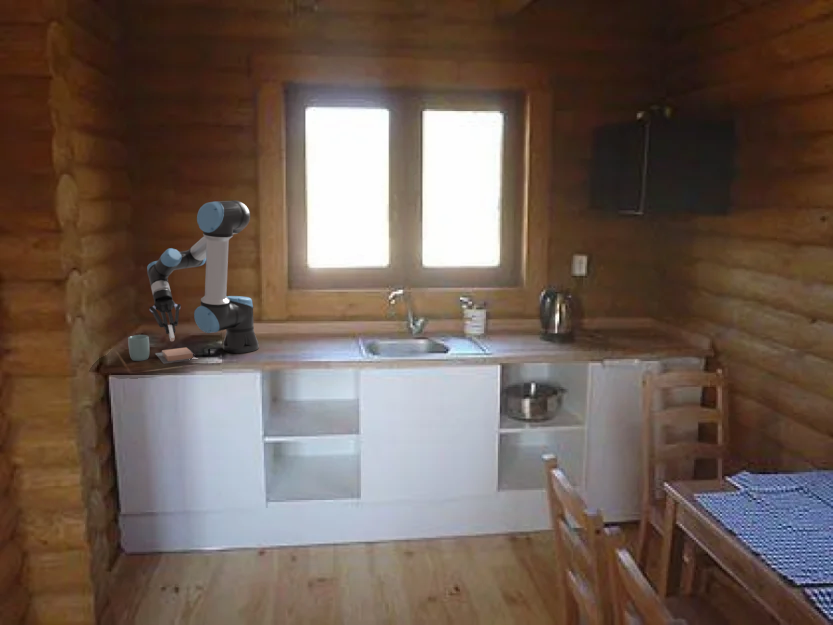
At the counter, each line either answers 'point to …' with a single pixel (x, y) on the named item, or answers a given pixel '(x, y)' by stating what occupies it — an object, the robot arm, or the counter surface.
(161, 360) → the mat
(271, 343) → the counter surface
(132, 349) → the cup
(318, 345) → the counter surface
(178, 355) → the tile
